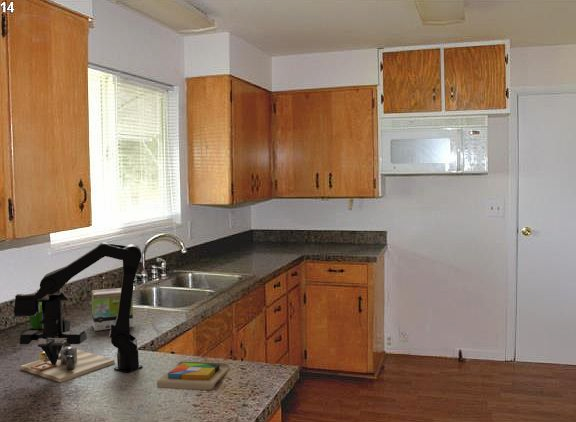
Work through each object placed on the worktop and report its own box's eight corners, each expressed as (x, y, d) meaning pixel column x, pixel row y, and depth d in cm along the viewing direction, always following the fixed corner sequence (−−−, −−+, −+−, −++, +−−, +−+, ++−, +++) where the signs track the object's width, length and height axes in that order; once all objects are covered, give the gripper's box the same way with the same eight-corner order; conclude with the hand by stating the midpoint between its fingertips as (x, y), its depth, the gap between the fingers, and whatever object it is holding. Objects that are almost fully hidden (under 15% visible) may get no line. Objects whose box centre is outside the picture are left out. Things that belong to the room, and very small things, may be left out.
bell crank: (74, 351, 199) (74, 338, 198) (79, 370, 180) (79, 355, 180) (38, 356, 194) (37, 342, 194) (39, 376, 175) (38, 361, 175)
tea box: (94, 332, 228) (93, 294, 227) (92, 325, 237) (90, 289, 236) (133, 327, 234) (132, 290, 233) (130, 321, 243) (128, 286, 242)
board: (114, 363, 191) (114, 359, 191) (60, 382, 175) (60, 378, 174) (75, 352, 203) (74, 349, 203) (20, 369, 186) (20, 365, 186)
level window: (57, 365, 186) (56, 364, 186) (41, 371, 181) (41, 369, 181) (46, 362, 189) (46, 361, 189) (31, 367, 184) (30, 366, 184)
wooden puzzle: (230, 369, 185) (230, 358, 185) (213, 391, 167) (213, 380, 167) (177, 366, 188) (177, 356, 188) (155, 389, 170) (155, 377, 169)
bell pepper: (42, 331, 230) (40, 306, 229) (25, 330, 232) (23, 305, 231) (56, 326, 237) (55, 301, 237) (40, 324, 240) (39, 300, 239)
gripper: (92, 308, 186) (93, 356, 187) (34, 308, 186) (36, 356, 188) (78, 317, 175) (80, 368, 176) (17, 317, 175) (19, 368, 176)
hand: (54, 364), depth 179 cm, fingers closed
